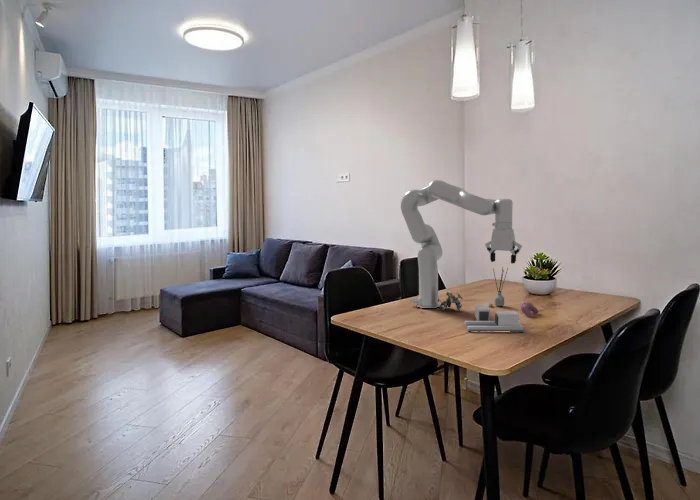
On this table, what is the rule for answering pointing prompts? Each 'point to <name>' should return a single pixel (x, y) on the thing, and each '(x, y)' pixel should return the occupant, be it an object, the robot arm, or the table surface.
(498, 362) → the table surface
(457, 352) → the table surface
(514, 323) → the rail dock
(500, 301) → the reed diffuser
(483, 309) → the block
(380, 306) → the table surface
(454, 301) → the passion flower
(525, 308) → the video game controller
